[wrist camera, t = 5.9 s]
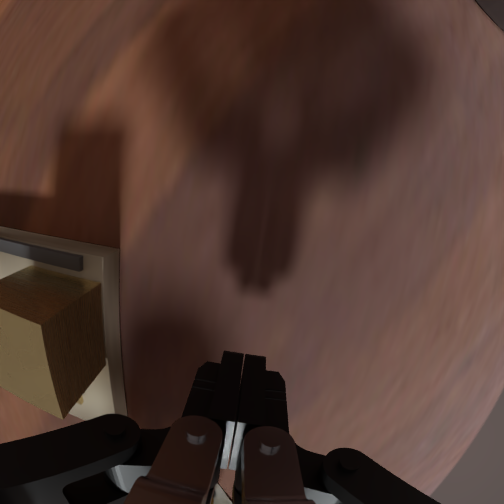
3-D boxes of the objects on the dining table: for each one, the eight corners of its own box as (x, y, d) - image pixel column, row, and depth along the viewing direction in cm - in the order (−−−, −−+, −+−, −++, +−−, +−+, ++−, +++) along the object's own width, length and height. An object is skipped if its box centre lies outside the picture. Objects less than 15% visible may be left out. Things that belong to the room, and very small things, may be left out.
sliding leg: (31, 265, 11) (-30, 294, 7) (100, 282, 11) (40, 325, 7) (51, 386, 13) (12, 429, 9) (112, 410, 13) (80, 464, 9)
